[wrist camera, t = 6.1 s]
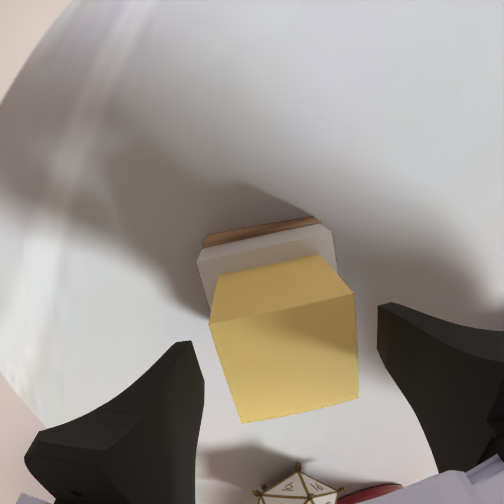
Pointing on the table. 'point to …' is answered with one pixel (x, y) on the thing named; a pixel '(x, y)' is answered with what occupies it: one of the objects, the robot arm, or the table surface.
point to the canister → (368, 494)
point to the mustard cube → (286, 338)
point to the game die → (298, 491)
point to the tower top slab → (263, 253)
